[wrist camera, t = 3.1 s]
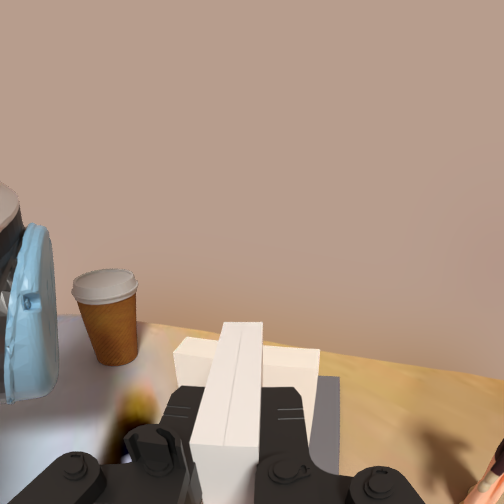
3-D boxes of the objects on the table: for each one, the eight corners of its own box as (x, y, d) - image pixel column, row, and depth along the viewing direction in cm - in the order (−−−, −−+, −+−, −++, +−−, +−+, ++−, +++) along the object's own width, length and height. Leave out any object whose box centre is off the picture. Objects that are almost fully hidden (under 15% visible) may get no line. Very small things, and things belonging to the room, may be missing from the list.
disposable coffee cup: (161, 349, 45) (151, 272, 42) (118, 380, 37) (100, 294, 34) (116, 334, 49) (105, 264, 46) (75, 359, 40) (57, 282, 38)
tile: (192, 459, 24) (173, 352, 22) (201, 440, 27) (187, 335, 24) (303, 476, 22) (318, 368, 19) (306, 455, 25) (320, 347, 22)
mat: (147, 482, 22) (145, 478, 22) (215, 369, 41) (214, 365, 40) (335, 515, 18) (336, 511, 18) (338, 380, 37) (339, 376, 37)
